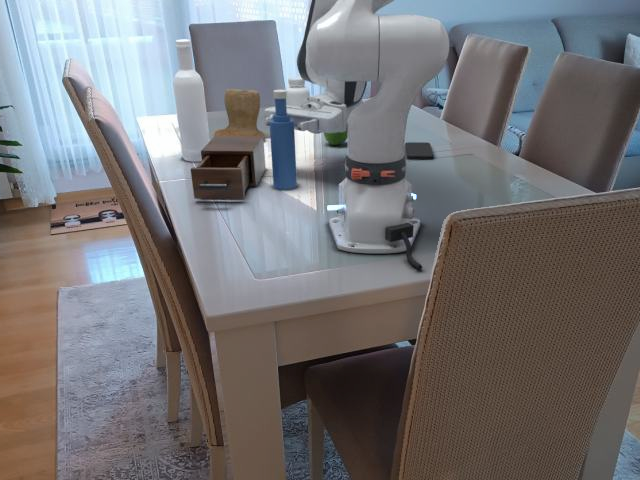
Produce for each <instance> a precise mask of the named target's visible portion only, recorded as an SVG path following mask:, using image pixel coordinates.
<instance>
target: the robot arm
mask: <svg viewBox="0 0 640 480" xmlns="http://www.w3.org/2000/svg"><path fill="white" fill-rule="evenodd" d="M394 1H395V0H311V2H310V6H309V11H308V16H307V21H306V25H305V29H304V35H303V39H302V43H301V45H300V47H299V50H298V53H297V56H296V67H297V71H298V74H299V77H301V78H302V79H303V80H305V82H308V83H311V84H313V85H317V86H319V87H321V88H323V89H325V91H324V92H323V93H318V94H315V95H310V97H308V98H306V99H305V100H304V101H303V102H302V104H301V107H296V106H288V105H286V106H287V113H288V114H290V119H293V120H294V128H297V129H296V130H298V131H299V132H300V131H301V132H305V131H308V132H309V133H311V134H313V135H314V134H315V135H318V134H322V133H323V134H324V133H336V132H345V131H346V128H347V123H348V138H347V155H345V162H344V169H345V170H344V171H345V172H344V173H345V178H344V179H343V180H342V181H341V182H340V183H338V204H334V205H330V204H329V205H327V207H326V208H327V211H336V213H337V215H338V216H333V217H331V218H329V220H328V221H329V222H328V226H329V228H330V231H331V234H332V237H333V240H334V242H335V245H336V248H337V249H338V250H340V251H343V252H349V253H355V254H375V255H376V254H397V253H403V252H406V254H405V255H406V259H407V261H408V263H409V264H410V265H411V266H412V267H414V268H415V269H417V270H418V271H419V270H422V268H423V266H422V264H421V263H419V262H417V261H416V260H414V257H413V255H412V246H413V243H414V241H415V240H416V236H417V234H418V232H419V229H420V227H421V220H420V219H419V218H416V217H414V216H415V208H414V207H413V206H412V203H414V200H416V199H417V194H415V193H413V192H412V191H413V190H412V189H413V186H412V184H411V183H410V182H409V181H408V179H406V172H407V171H406V169H407V156H405V143H406V142H405V140H406V130H407V122H408V117H409V113H410V111H411V109H412V108H411V107H412V105H413V103H414V101H415V99H416V98H417V96H418V95H419V93H420V92H421V91H422V90H423V88H424V87H425V86H426V85H427V84H428V83H429V82H430V81H432V80H433V79H434V78H435V77H437V76H438V75H439V74H440V73H441V72H442V70H443V69H444V67H445V65H446V63H447V61H448V58H449V54H450V38H449V35H448V32H447V30H446V28H445V27H446V26H444V24H443V23H442V21H440V20H439V19H437V18H432V17H430V16H424V15H419V14H378V13H377V12H378V11H380V10H381V9H383V8H384V7H386V6H388V5H390V4H391V3H393V2H394ZM368 82H378V83H381V85H380V88H379V91H378V92H377V93H376V94H375V95H374V96H372V97H371V98H368V99H367V100H365V101H364V100H363V96H364V94H365V92H366V88H367V84H368ZM273 114H276V112H275V106H270V107H267V108H266V107H265V109H264V122H265V126H267V127H270V124H269V121H270V120H271V119H273Z"/></svg>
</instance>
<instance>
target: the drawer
mask: <svg viewBox="0 0 640 480" xmlns="http://www.w3.org/2000/svg"><path fill="white" fill-rule="evenodd" d="M190 177H191V181H192V182H191V183H192V192H193V197H194V199H196V200H199V199H200V200H244V199H245V198H246V195H245V191H246V189H247V188H248V187H247V186H248V185H249V183H250V181H251V180H252V179H251V167H250V155H249V154H208V155H207V156H206V157H205V158H204V159H203V160H202V161H201V162H199V163H198V165H197V166H196V167H195V166H194V167H190Z"/></svg>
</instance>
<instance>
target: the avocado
mask: <svg viewBox="0 0 640 480" xmlns="http://www.w3.org/2000/svg"><path fill="white" fill-rule="evenodd" d="M323 136H324V138H325V141H326V142H327V143H328V144H330V145H332V146H338V145H339V146H340V145H342V144H344V143H345V142H346V141H347V140H348V123H347V128H346V131H345V132H336V133H323Z"/></svg>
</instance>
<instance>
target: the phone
mask: <svg viewBox="0 0 640 480" xmlns="http://www.w3.org/2000/svg"><path fill="white" fill-rule="evenodd" d="M404 150H405V154H406V159H408V160H409V159H411V160H414V159H415V160H422V159H423V160H430V159H434V152H433V149H432V145H431V143H430V142H421V141H420V142H419V141H418V142H416V141H415V142H413V141H411V142H408V141H407V142H404Z"/></svg>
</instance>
